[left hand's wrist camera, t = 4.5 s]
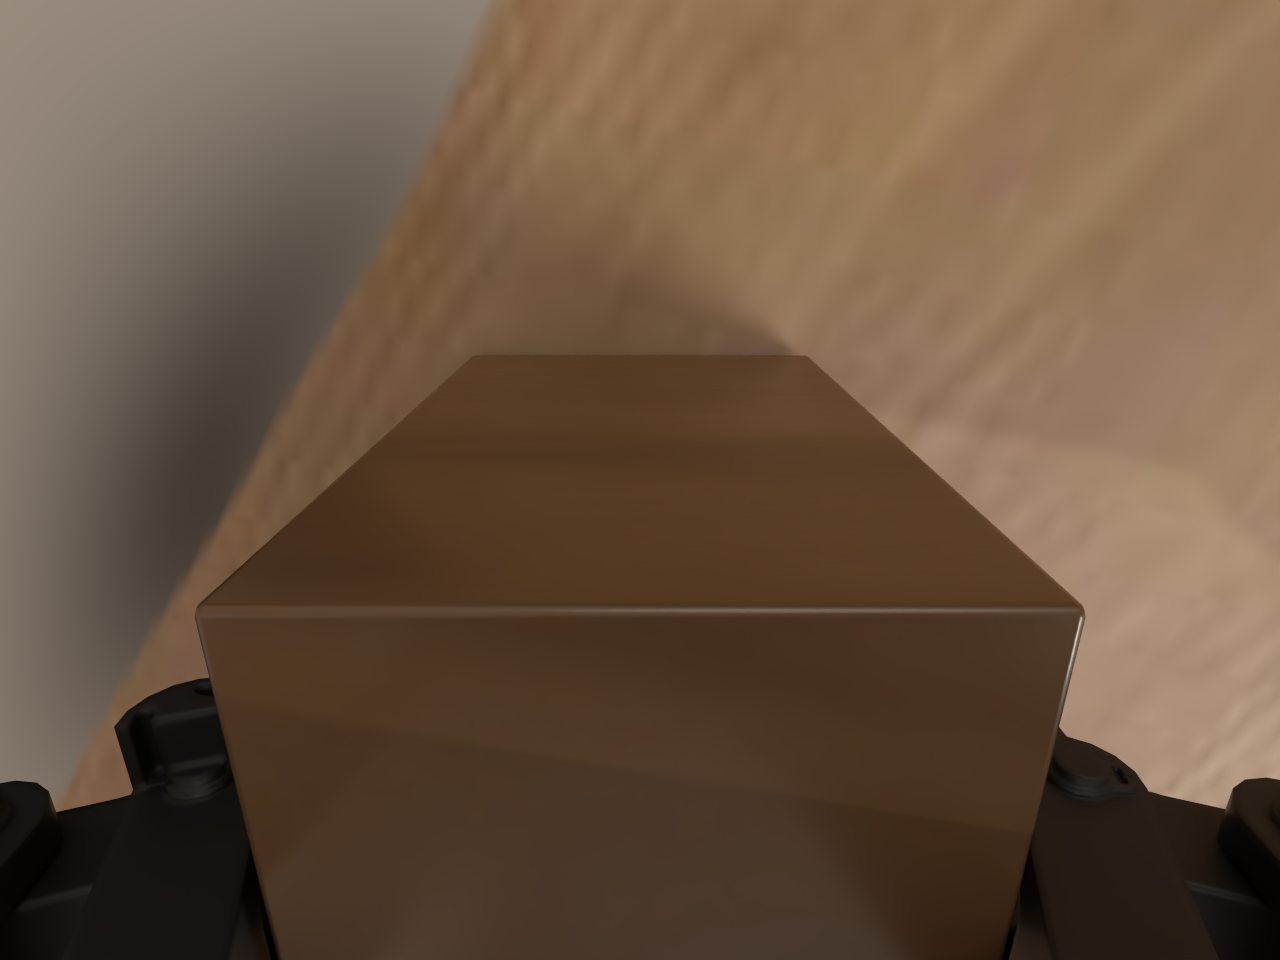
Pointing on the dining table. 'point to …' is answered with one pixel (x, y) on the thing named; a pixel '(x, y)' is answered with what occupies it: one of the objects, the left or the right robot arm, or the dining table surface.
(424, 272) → the dining table surface
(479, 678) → the box
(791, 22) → the dining table surface
